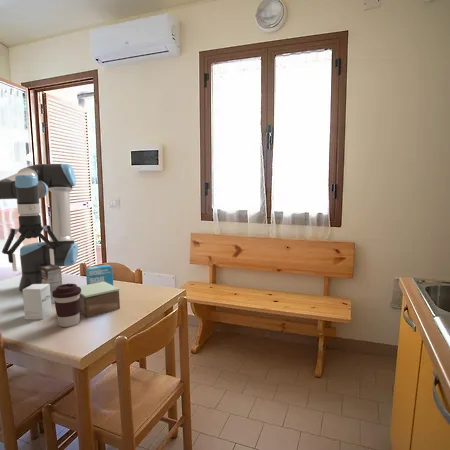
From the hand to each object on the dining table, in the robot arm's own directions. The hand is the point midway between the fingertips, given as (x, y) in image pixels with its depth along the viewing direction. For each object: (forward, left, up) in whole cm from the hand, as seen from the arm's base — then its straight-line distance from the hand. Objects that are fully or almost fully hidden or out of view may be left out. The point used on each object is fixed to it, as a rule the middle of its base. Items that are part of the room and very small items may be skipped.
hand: (34, 267), depth 131 cm
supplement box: (0, 0, -21) cm, 21 cm away
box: (+10, +20, -20) cm, 30 cm away
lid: (+10, +20, -12) cm, 25 cm away
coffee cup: (+17, +6, -21) cm, 27 cm away
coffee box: (-15, +10, -21) cm, 28 cm away
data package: (-14, +32, -21) cm, 41 cm away
